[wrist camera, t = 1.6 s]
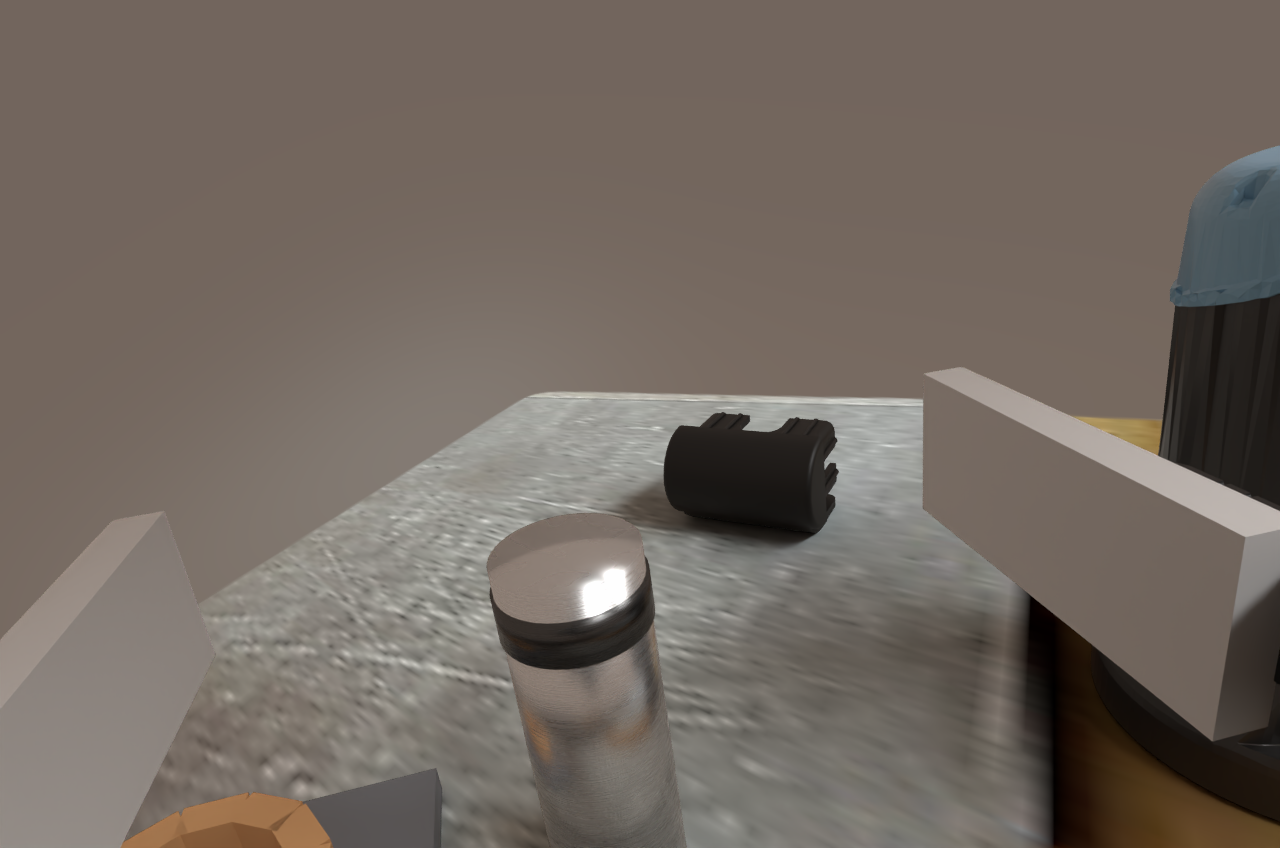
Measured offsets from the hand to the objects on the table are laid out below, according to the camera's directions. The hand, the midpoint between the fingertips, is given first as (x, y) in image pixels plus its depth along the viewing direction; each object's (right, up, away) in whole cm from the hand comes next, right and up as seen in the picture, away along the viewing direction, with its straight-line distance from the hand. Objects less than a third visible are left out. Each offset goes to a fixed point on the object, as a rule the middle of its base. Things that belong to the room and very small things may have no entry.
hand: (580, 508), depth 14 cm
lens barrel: (0, -16, +17) cm, 23 cm away
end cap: (+9, -5, +41) cm, 42 cm away
